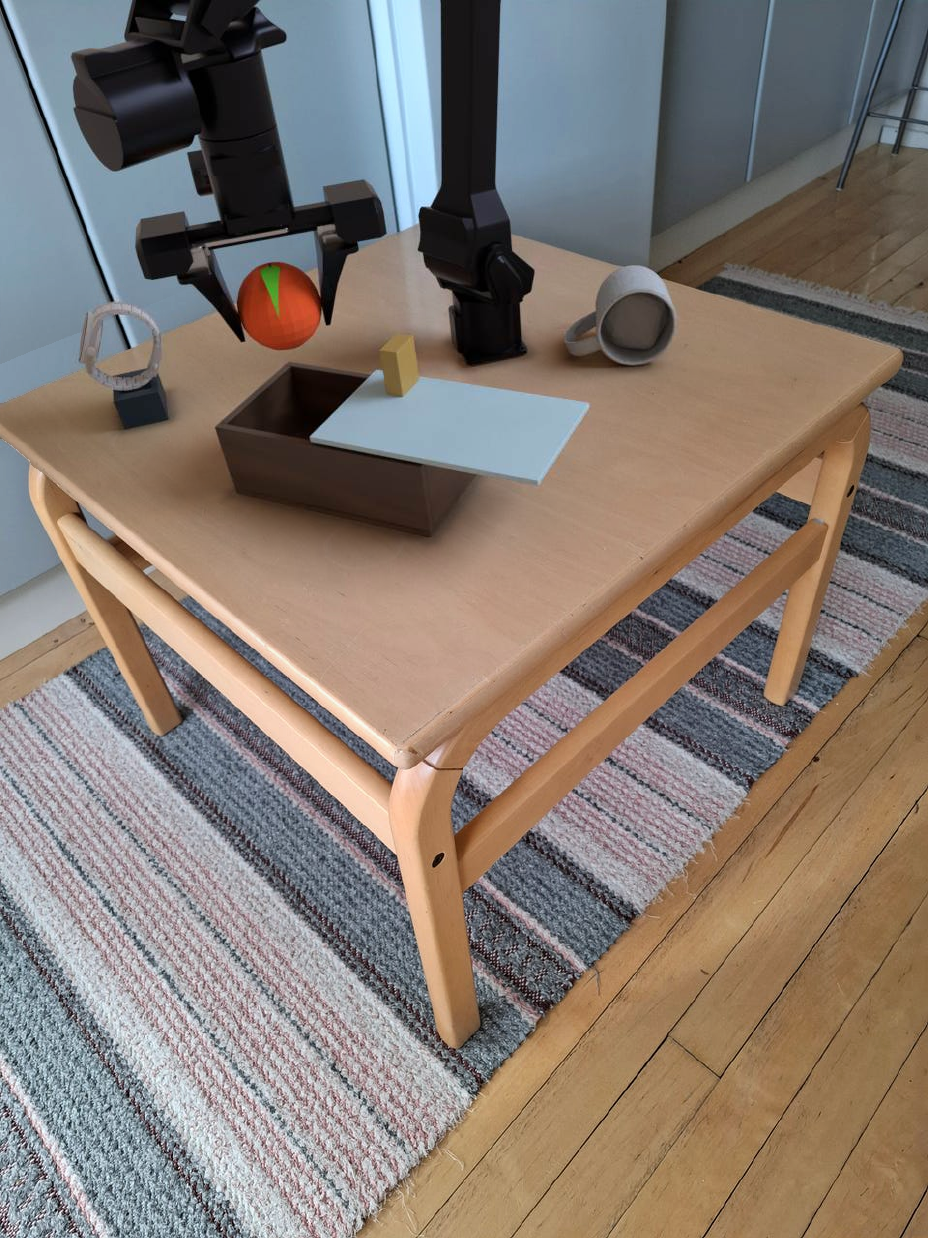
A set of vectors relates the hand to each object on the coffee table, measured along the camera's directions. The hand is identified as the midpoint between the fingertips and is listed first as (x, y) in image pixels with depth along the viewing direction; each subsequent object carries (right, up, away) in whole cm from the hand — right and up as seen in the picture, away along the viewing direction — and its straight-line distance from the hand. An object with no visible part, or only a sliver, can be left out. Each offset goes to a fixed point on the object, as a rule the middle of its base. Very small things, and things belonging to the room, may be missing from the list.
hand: (285, 331), depth 76 cm
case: (+6, -12, +4) cm, 14 cm away
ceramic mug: (+31, +3, +16) cm, 35 cm away
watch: (-17, -3, +16) cm, 24 cm away
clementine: (0, -1, +1) cm, 2 cm away
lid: (+14, -9, -4) cm, 17 cm away
